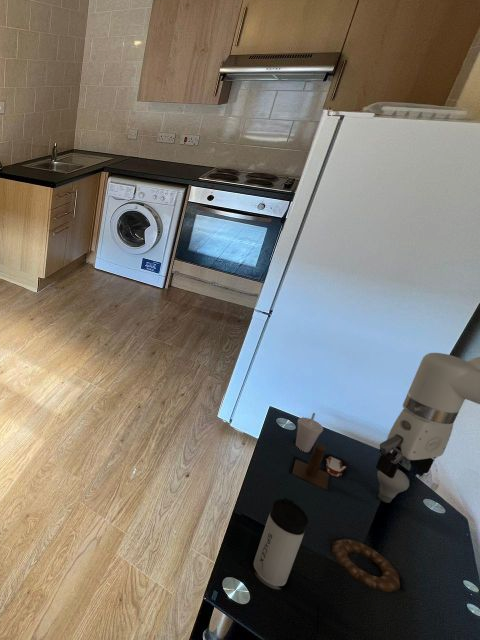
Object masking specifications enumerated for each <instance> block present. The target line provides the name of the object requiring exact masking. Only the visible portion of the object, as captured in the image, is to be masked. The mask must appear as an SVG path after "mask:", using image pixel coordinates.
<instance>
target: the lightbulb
mask: <svg viewBox="0 0 480 640" xmlns="http://www.w3.org/2000/svg"><path fill="white" fill-rule="evenodd" d="M377 480H378V482H379V492H378V495H377V497H378V499H380V500H381V502H383V503H386V504H390V503H391V502H392V501H393V499H395V497H396V496H397V495H398V494H399V493H402V492H405V491H407V490H408V489H409V488H410V480H409V477H408V476H407V474H405V472H403V471H402V470H400V469H399V468H398V469H397V471H396V474H395V476H394V478H389V477H388V476H386V475H385V474H383V473H382V472H381V471H379V470H377Z"/></svg>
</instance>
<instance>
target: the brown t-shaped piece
mask: <svg viewBox="0 0 480 640" xmlns="http://www.w3.org/2000/svg"><path fill="white" fill-rule="evenodd" d="M326 450H327V448H326V447H325V446H324V445H322V444H320V443H314V446H313V450H312V453H311V455H310V458H309V461H308V463H306V462H304V461H302V460H299V459H295V461H294V463H293V469H292V472H291V473H292V474H291V475H292V476H294V477H296V478H298V479H300V480H302V481H304V482H307V483H309V484H311V485H313V486H316V487H318V488H320V489H322V490H324V491H328V486H329V479H330V474H329V473H328V472H327V471H326V472H325V471H324V470H322V469H320V466H321V463H322V460H323V458H324V455H325V452H326Z"/></svg>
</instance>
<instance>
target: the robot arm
mask: <svg viewBox="0 0 480 640" xmlns="http://www.w3.org/2000/svg"><path fill="white" fill-rule="evenodd" d="M465 400H467V401H470V402H473V403H475V404H477V405H480V356H476V357H473V358H471V359H468V360H465V359H462V358H461V357H458V356H455V355H451V354H448V353H441V352H429V353H427V354H425V355H424V356H423V357H422V359H421V360H420V363H419V366H418V368H417V370H416V373H415V375H414V378H413V380H412V382H411V384H410V387H409V389H408V391H407V394H406V396H405V399H404V401H403V403H402V408H403V409H402V410H401V412H400V413H399V415H398V416H397V418H396V419H395V421H394V422H393V425H392V427H391V428H390V430H389V433H388V435H387V437H386V440H384V441H382V442H380V443H379V455H380V456H379V458H378V459H377V463H376V464H375V469H377V471H381V472H382V473H383V474H385V475H386V476H388V477H389V478H394V476H395V474H396V471H397V469H399V467H400V463H399V462H400V461H402V459H404V458H406V459H407V460H409V464H410V465H411V466H413V467H414V468H416V469H417V470H419V471H420V472H422V473H423V474H428V473H429V472H430V469H431V467H432V466H433V463H434V461H435V459H437V458H439V457H441V456H443V454H444V453H445V451H446V449H447V446H448V443H449V441H450V438H451V436H452V432H453V430H454V429H453V428H454V423H455V421H456V419H457V417H458V415H459V413H460V410H461V408H462V406H463V404H464V402H465ZM397 447H398V448H397ZM399 448H400V449H399ZM392 451H394V452H396V453H397V455H395V456H394V455H393V453H392Z"/></svg>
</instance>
